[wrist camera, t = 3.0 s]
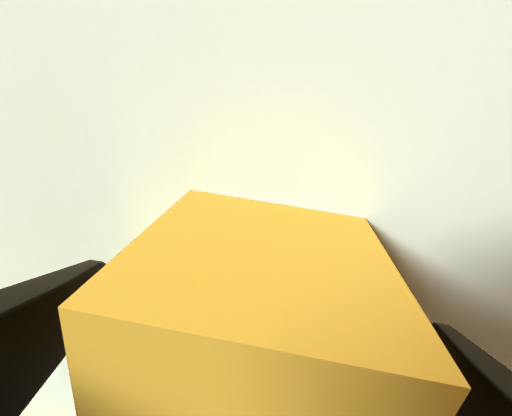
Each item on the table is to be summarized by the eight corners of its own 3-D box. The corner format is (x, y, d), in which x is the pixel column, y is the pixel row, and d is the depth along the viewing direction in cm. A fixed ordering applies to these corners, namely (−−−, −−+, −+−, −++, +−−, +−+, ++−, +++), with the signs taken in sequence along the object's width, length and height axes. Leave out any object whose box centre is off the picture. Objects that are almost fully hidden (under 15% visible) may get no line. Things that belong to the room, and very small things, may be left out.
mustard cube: (364, 217, 8) (471, 389, 3) (325, 348, 10) (356, 577, 5) (191, 189, 8) (57, 307, 3) (185, 321, 10) (93, 512, 5)
